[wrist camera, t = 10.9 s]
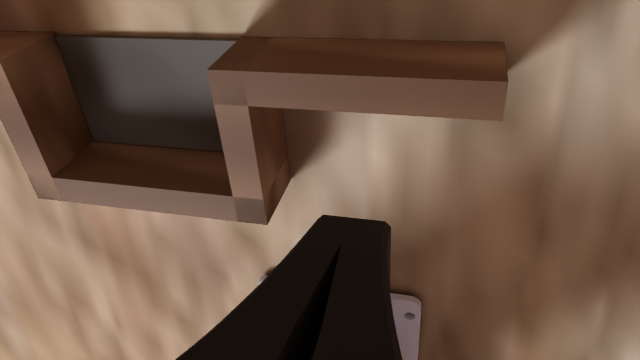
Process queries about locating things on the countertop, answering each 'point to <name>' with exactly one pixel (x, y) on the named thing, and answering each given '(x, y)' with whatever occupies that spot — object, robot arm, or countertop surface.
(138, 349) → the countertop surface
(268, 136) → the trap lane
